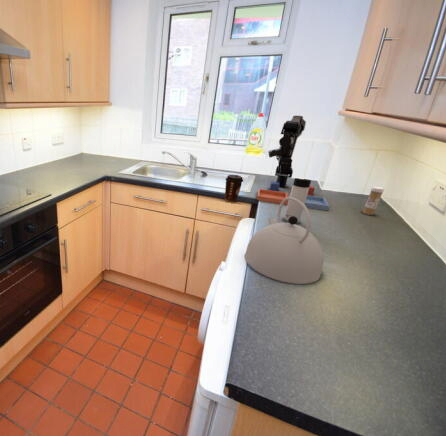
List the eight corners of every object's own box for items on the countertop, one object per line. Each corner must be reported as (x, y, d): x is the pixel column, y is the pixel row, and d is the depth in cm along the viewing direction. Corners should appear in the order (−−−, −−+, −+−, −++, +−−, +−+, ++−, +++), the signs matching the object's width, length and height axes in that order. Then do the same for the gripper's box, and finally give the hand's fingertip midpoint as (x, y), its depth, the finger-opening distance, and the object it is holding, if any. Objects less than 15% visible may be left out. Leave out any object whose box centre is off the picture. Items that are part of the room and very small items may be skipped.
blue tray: (292, 197, 165) (293, 193, 164) (323, 201, 160) (324, 197, 159) (294, 205, 153) (295, 201, 152) (327, 210, 148) (329, 205, 147)
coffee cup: (237, 197, 162) (241, 174, 157) (241, 203, 154) (246, 178, 149) (220, 196, 163) (224, 173, 158) (224, 202, 155) (228, 177, 150)
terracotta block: (302, 192, 175) (305, 185, 173) (311, 193, 173) (313, 186, 171) (303, 194, 171) (305, 187, 169) (312, 195, 169) (314, 188, 167)
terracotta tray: (257, 192, 171) (258, 188, 170) (286, 197, 166) (287, 192, 165) (256, 200, 159) (257, 195, 158) (287, 204, 154) (288, 200, 153)
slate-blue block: (269, 188, 180) (271, 181, 178) (277, 189, 178) (279, 182, 176) (269, 190, 176) (271, 183, 174) (277, 191, 174) (279, 184, 173)
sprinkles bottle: (360, 212, 147) (369, 186, 142) (367, 211, 148) (377, 185, 142) (368, 215, 143) (378, 188, 137) (376, 215, 143) (387, 188, 138)
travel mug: (284, 222, 132) (296, 179, 124) (282, 217, 137) (293, 175, 130) (300, 225, 130) (313, 181, 122) (297, 219, 135) (310, 177, 128)
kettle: (233, 243, 112) (245, 186, 103) (294, 245, 112) (310, 188, 103) (260, 282, 89) (278, 212, 80) (336, 285, 89) (363, 215, 80)
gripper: (269, 141, 174) (264, 167, 180) (272, 146, 158) (265, 174, 164) (291, 142, 170) (284, 169, 176) (295, 148, 154) (288, 177, 160)
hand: (280, 172), depth 169 cm, fingers open, 9 cm apart
